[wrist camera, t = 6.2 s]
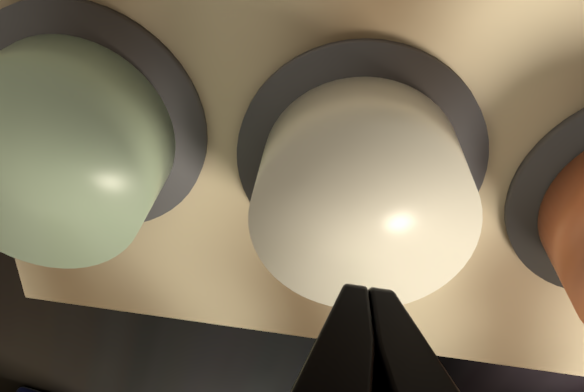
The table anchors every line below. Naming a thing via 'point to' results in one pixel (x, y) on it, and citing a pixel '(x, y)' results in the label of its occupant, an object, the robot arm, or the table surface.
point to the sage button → (77, 151)
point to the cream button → (364, 193)
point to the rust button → (566, 229)
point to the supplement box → (26, 389)
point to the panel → (286, 89)
